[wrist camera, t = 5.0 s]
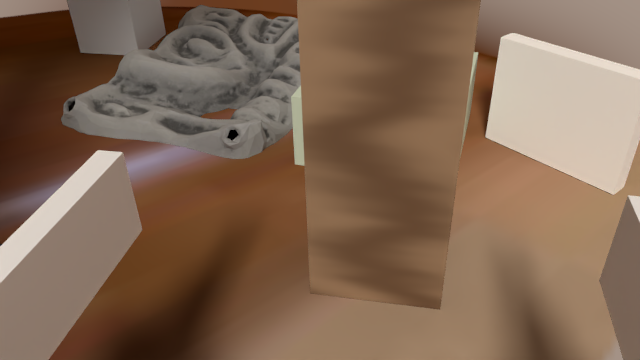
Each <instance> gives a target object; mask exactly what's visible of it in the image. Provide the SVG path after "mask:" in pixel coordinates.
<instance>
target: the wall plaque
mask: <svg viewBox="0 0 640 360" xmlns="http://www.w3.org/2000/svg"><path fill="white" fill-rule="evenodd" d="M267 39H268V41H267ZM300 86H301V77H300V55H299V33H298V19H296V18H293V17H277V18H275V19H273V20H271V19H267V18H266V17H264V16H263V15H261V14H254V15H251V16H249V17H246V16H244V15H242V14H241V13H239V12H237V11H236V10H231V9H222V8H211V7H207V6H204V5H199V6H197V7H196V8H194V9H191V10H190V11H188V12H187V13H186V14H185V15H184V17H183V18H182V19H181V21H180V22H179V25H178V29H177V30H175V31H173V32H171V33H170V34H168V35H166V37H165V38H164V39H163V40H162V42H161V43H160V44H159V46H158V47H157V49H156V50H154V51H152V50H149V49H139V50H132V51H130V52H128V53H127V54H126V55H125V56H124V57H123V59H122V60H121V62H120V64H119V67H118V70H117V73H116V75H115V76H114V77H113V78H112V79H111V80H110V81H109V83H107V84H102V85H100V86H98V87H96V88H94V89H92V90H90V91H88V92H85V93H83V94H80V95H78V96H75V97H72V98H69V99H68V100H67V101H66V102H65V103H64V114H63V116H62V118H61V121H62V124H63V125H65V126H68V127H70V128H73V129H75V130H77V131H78V132H81V133H85V134H88V135H97V136H103V137H111V138H118V139H134V140H145V141H153V142H161V143H167V144H172V145H176V146H182V147H187V148H189V149H193V150H197V151H201V152H205V153H208V154H212V155H216V156H220V157H225V158H231V159H243V158H249V157H251V156H253V155H256V154H258V153H260V152H262V151H263V150H264V149H265V148H267V147H268V146H270V145H272V144H274V143H276V142H277V141H278V140H280V139H281V138H282V137H284V136H285V135H286V134H287V133H288V132H289V131H290V130H291V129H292V128H293V121H292V103H291V96H292V95H293V94H294V93H295V92H296V90H297V89H298V88H299V87H300ZM227 108H231V109H238V110H236V111H235V112H234V114H233V115H232V117H231V119H230V120H216V119H206V118H201V117H200V116H202V115H203V114H205V113H211V112H217V111H221V110H225V109H227ZM234 129H236V131H237V132H238V134H239V135H238V136H237V137H236V138H235V139H234V140H233V141H232V140H230V139H228V138H227V136H228V134H229V131H230V130H234Z"/></svg>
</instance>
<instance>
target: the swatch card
mask: <svg viewBox="0 0 640 360" xmlns="http://www.w3.org/2000/svg"><path fill="white" fill-rule="evenodd" d="M485 137H486V138H488V139H490V140H492V141H495V142H497V143H499V144H501V145H503V146H506V147H508V148H510V149H512V150H515V151H517V152H519V153H521V154H524V155H526V156H528V157H530V158H532V159H535V160H537V161H539V162H541V163H544V164H546V165H548V166H550V167H552V168H555V169H557V170H559V171H561V172H564V173H566V174H568V175H570V176H572V177H575V178H577V179H579V180H581V181H584V182H586V183H588V184H590V185H592V186H595V187H597V188H599V189H601V190H604V191H606V192H608V193H610V194H612V195H614V194H615V193H617V192H618V191H619V190H621V189H622V188H623V187H624V185H625V182H626V179H627V176H628V173H629V170H630V167H631V164H632V161H633V158H634V155H635V152H636V149H637V146H638V143H639V140H640V70H639V69H635V68H632V67H629V66H625V65H622V64H618V63H615V62H612V61H608V60H605V59H601V58H598V57H594V56H591V55H588V54H584V53H580V52H577V51H574V50H570V49H567V48H564V47H560V46H557V45H553V44H550V43H546V42H543V41H540V40H536V39H532V38H529V37H526V36H522V35H519V34H515V33H511V34H508V35H506V36H503V37H501V42H500V48H499V54H498V60H497V66H496V73H495V79H494V86H493V92H492V98H491V105H490V111H489V117H488V124H487V130H486V136H485Z"/></svg>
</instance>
